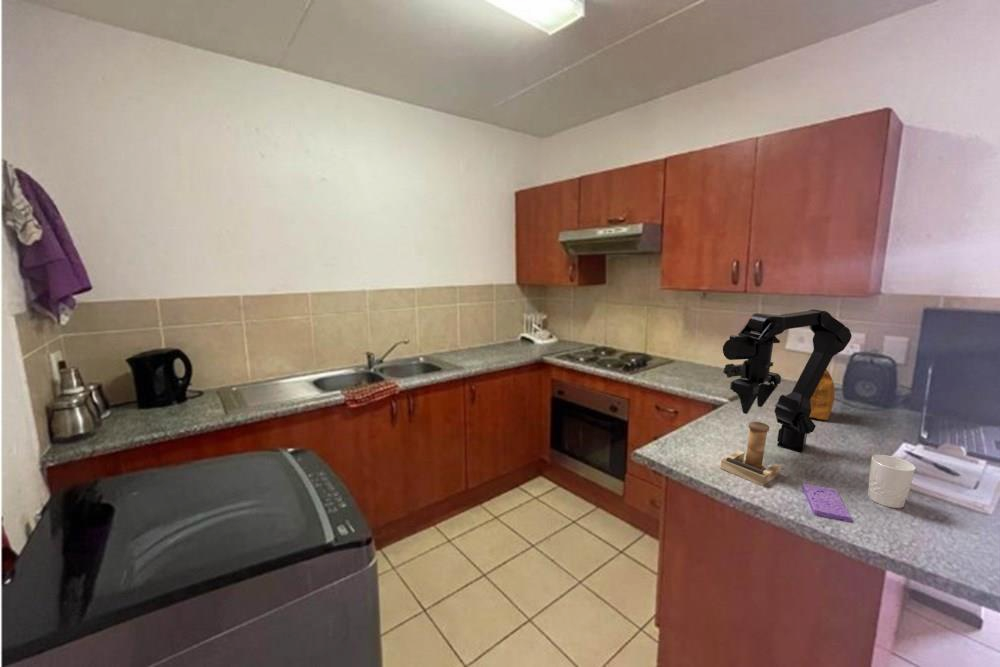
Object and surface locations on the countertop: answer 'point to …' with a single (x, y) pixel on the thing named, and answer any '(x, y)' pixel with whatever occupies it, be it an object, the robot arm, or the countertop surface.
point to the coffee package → (823, 398)
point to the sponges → (826, 502)
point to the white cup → (890, 480)
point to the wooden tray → (749, 469)
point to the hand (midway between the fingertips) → (752, 410)
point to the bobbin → (756, 444)
